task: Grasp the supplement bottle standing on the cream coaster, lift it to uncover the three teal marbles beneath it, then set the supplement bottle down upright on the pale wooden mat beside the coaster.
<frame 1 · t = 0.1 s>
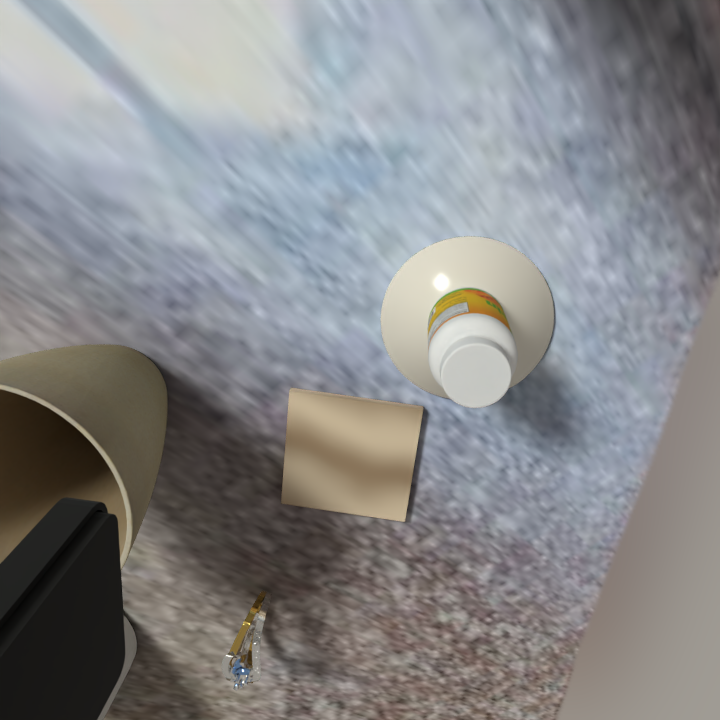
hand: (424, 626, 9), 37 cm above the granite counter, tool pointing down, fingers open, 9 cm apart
mug: (69, 630, 61), on the granite counter
ring: (263, 601, 57), on the granite counter
coaster: (466, 321, 46), on the granite counter
wooden mat: (349, 454, 51), on the granite counter
supplement bottle: (466, 321, 46), resting on coaster
plant pot: (124, 386, 50), on the granite counter
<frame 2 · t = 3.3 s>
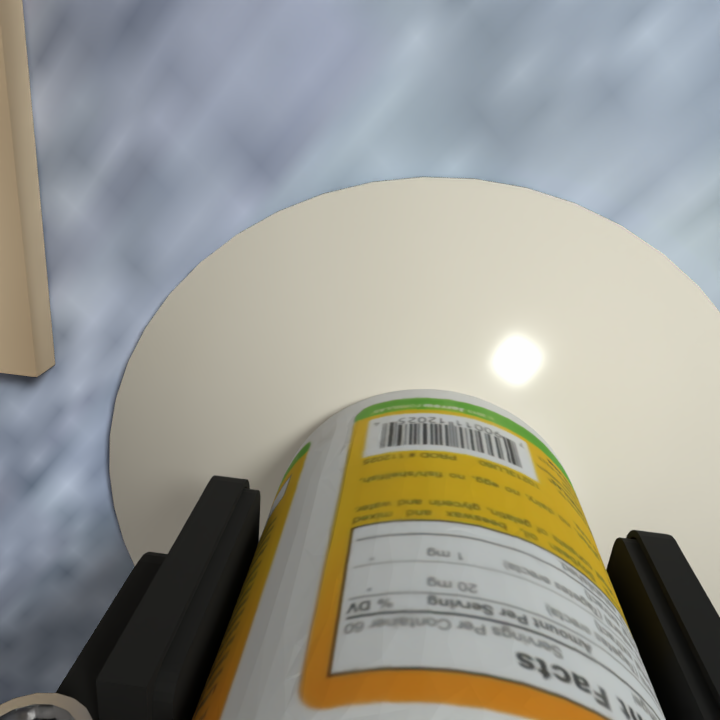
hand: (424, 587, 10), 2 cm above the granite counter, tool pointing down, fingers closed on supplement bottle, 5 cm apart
coaster: (424, 506, 12), on the granite counter
supplement bottle: (424, 508, 12), resting on coaster, touching gripper
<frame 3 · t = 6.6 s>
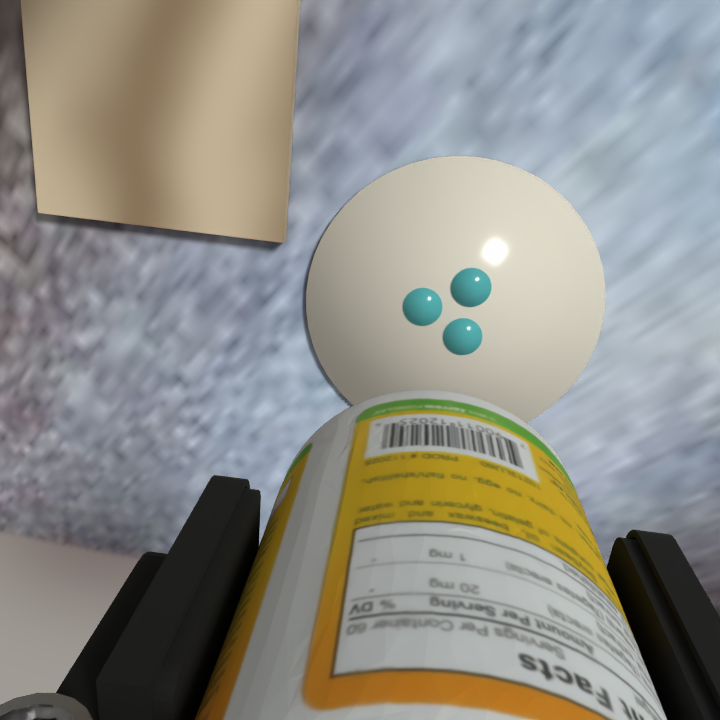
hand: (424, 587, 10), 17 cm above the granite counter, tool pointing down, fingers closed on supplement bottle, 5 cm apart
coaster: (451, 309, 27), on the granite counter
wooden mat: (163, 92, 25), on the granite counter
supplement bottle: (425, 508, 12), point 15 cm above the granite counter, touching gripper
when the fingers open (4 cm above the granite counter, at t = 10.3 s): supplement bottle drops 1 cm, resting on wooden mat.
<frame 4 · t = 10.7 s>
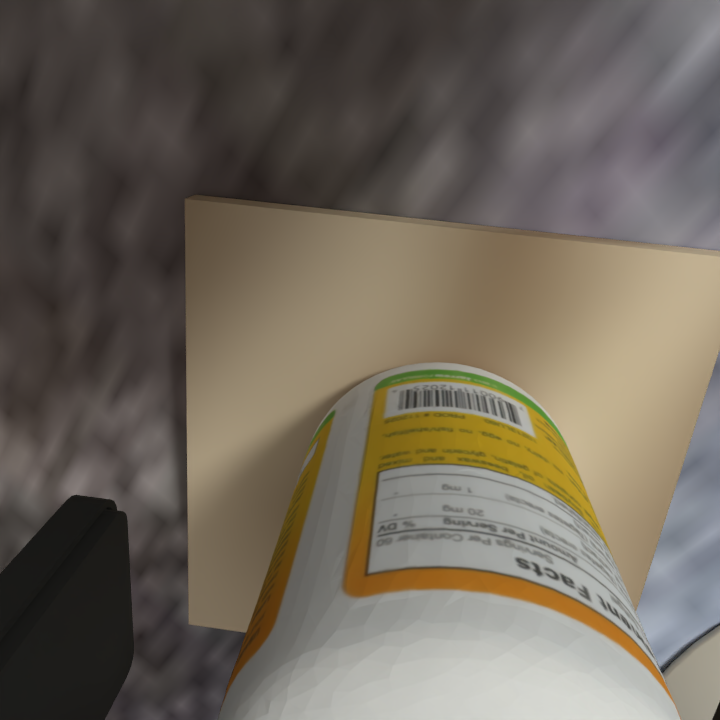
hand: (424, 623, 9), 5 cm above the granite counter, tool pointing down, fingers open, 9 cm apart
wooden mat: (424, 456, 14), on the granite counter
supplement bottle: (435, 471, 14), resting on wooden mat
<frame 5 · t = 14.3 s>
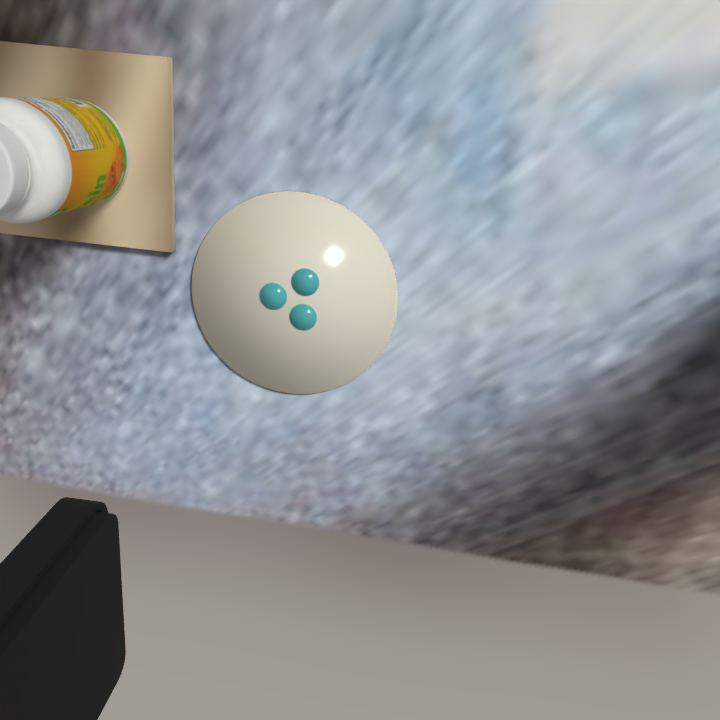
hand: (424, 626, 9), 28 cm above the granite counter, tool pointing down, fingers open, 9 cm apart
coaster: (294, 297, 37), on the granite counter
wooden mat: (84, 149, 36), on the granite counter
supplement bottle: (85, 152, 35), resting on wooden mat
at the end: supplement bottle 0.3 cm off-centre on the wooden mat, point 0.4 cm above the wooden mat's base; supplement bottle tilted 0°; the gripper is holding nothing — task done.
